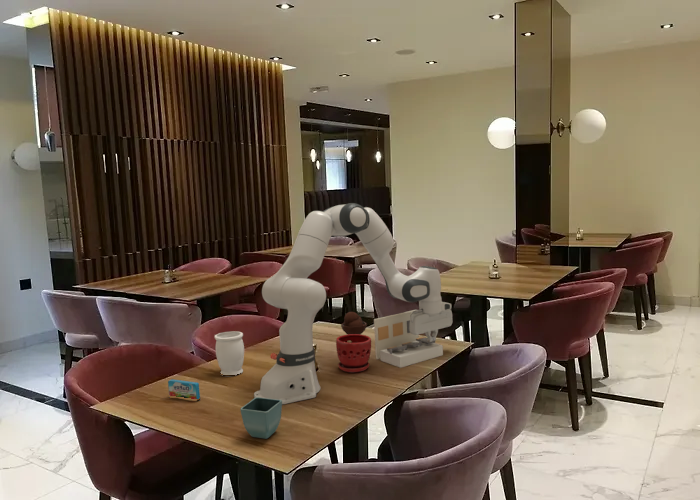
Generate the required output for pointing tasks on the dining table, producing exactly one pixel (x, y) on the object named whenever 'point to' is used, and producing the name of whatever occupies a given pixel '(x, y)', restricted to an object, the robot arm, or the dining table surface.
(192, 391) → the blue printed box
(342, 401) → the dining table surface
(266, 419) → the flower pot
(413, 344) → the switch middle
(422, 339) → the switch far
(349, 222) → the robot arm
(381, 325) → the switch unit
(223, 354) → the jar
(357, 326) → the ice cream bowl
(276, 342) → the dining table surface
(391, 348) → the switch near
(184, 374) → the dining table surface
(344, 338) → the plant pot
